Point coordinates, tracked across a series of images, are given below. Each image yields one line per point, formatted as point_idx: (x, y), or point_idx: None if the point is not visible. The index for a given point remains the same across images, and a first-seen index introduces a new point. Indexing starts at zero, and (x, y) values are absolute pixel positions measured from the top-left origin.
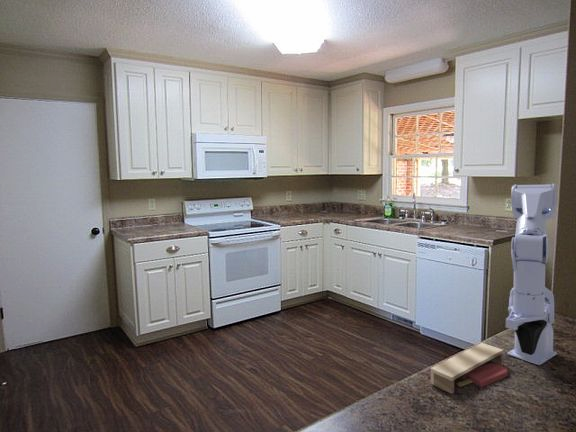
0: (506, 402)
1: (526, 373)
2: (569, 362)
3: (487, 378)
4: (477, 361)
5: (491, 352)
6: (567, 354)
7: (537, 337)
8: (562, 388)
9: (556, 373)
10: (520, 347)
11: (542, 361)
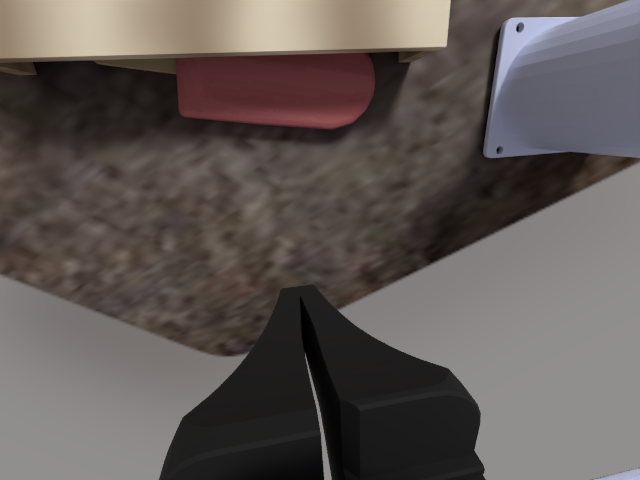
0: (181, 228)
1: (403, 159)
2: (558, 197)
3: (228, 114)
4: (227, 37)
5: (378, 22)
6: (612, 165)
7: (324, 431)
8: (389, 265)
9: (465, 212)
10: (279, 297)
11: (509, 154)
